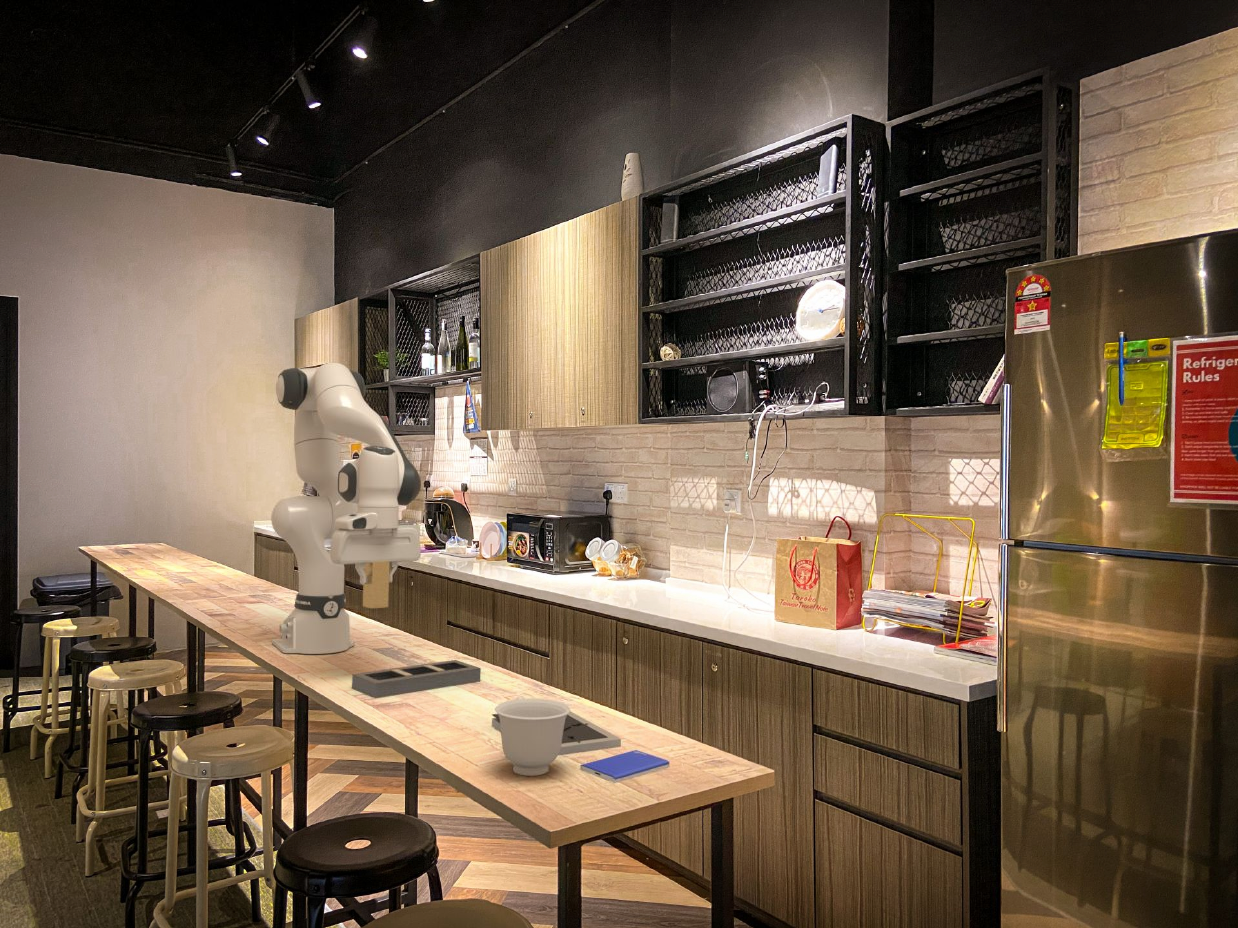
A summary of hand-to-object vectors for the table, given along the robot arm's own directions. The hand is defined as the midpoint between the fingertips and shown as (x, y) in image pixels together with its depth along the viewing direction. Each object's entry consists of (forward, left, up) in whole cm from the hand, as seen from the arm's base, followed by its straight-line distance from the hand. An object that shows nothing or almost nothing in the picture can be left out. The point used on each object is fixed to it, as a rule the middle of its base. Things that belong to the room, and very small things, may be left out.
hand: (376, 583), depth 205 cm
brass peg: (0, 0, -5) cm, 5 cm away
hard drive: (+76, +5, -23) cm, 80 cm away
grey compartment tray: (+8, +7, -22) cm, 24 cm away
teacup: (+67, -7, -22) cm, 70 cm away
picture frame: (+55, +7, -23) cm, 60 cm away
